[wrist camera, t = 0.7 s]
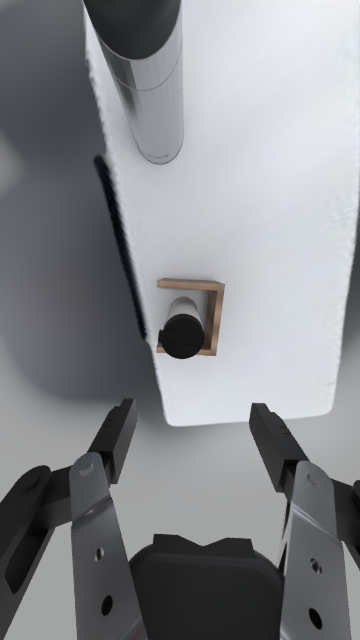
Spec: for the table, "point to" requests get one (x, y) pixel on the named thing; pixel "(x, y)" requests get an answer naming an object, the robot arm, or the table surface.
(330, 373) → the table surface
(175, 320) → the travel mug
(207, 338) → the wooden u-shaped bracket
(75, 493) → the robot arm
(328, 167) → the table surface
